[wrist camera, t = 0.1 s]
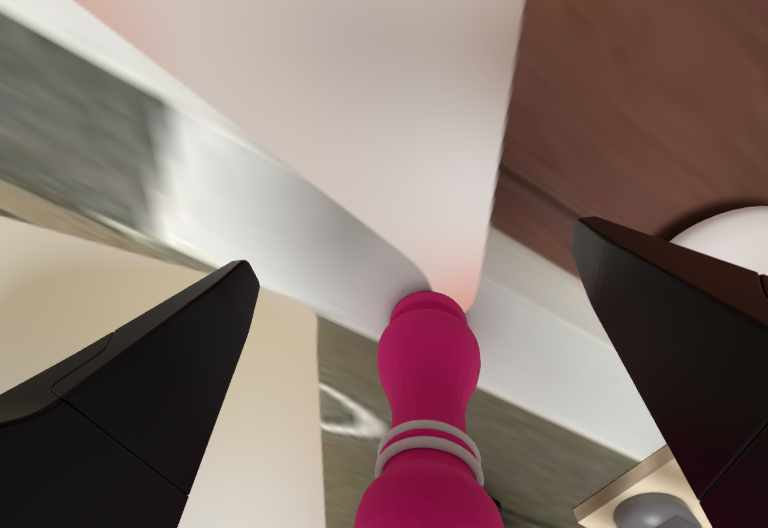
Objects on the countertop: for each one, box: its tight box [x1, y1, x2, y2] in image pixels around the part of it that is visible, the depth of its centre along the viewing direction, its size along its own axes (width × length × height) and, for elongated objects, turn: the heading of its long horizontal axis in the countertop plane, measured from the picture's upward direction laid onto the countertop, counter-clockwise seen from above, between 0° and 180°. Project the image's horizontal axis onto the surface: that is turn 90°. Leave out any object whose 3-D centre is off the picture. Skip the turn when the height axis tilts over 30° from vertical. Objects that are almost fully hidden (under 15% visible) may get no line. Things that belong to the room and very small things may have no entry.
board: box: [573, 445, 712, 528], centre depth 30 cm, size 20×19×1 cm
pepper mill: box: [354, 291, 505, 528], centre depth 19 cm, size 7×7×20 cm
